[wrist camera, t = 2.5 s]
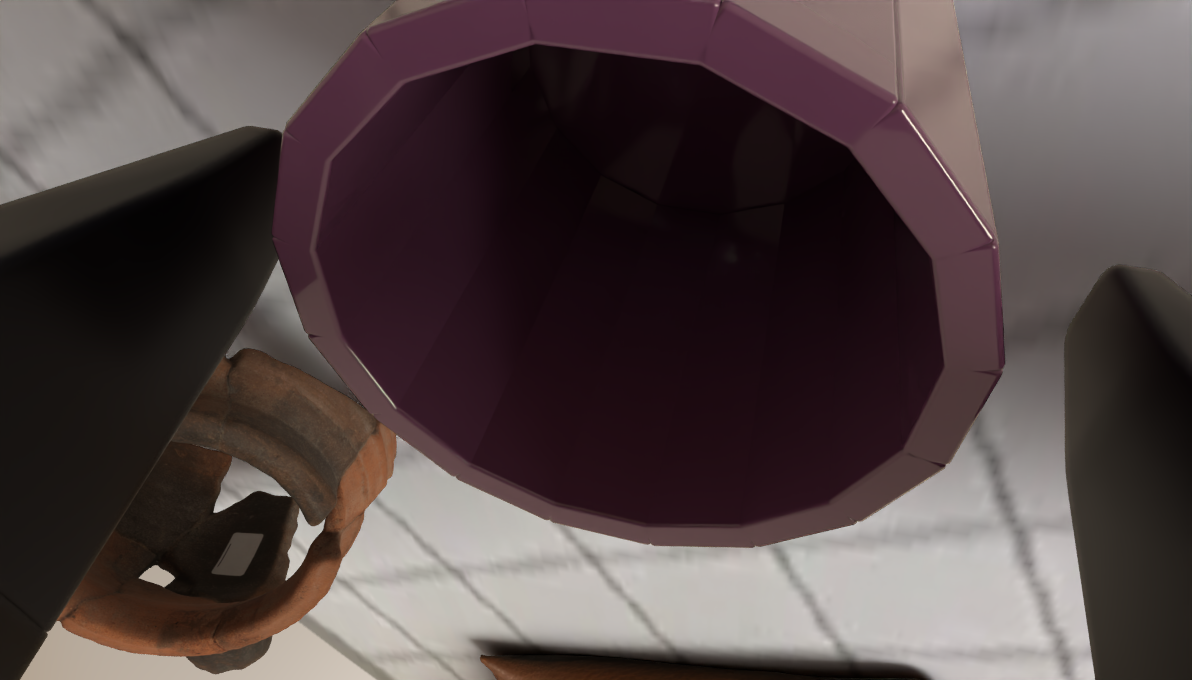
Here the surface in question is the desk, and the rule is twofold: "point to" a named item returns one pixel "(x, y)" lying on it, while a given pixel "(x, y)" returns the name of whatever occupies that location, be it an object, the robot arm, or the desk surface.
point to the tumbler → (654, 254)
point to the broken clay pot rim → (236, 519)
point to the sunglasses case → (620, 670)
